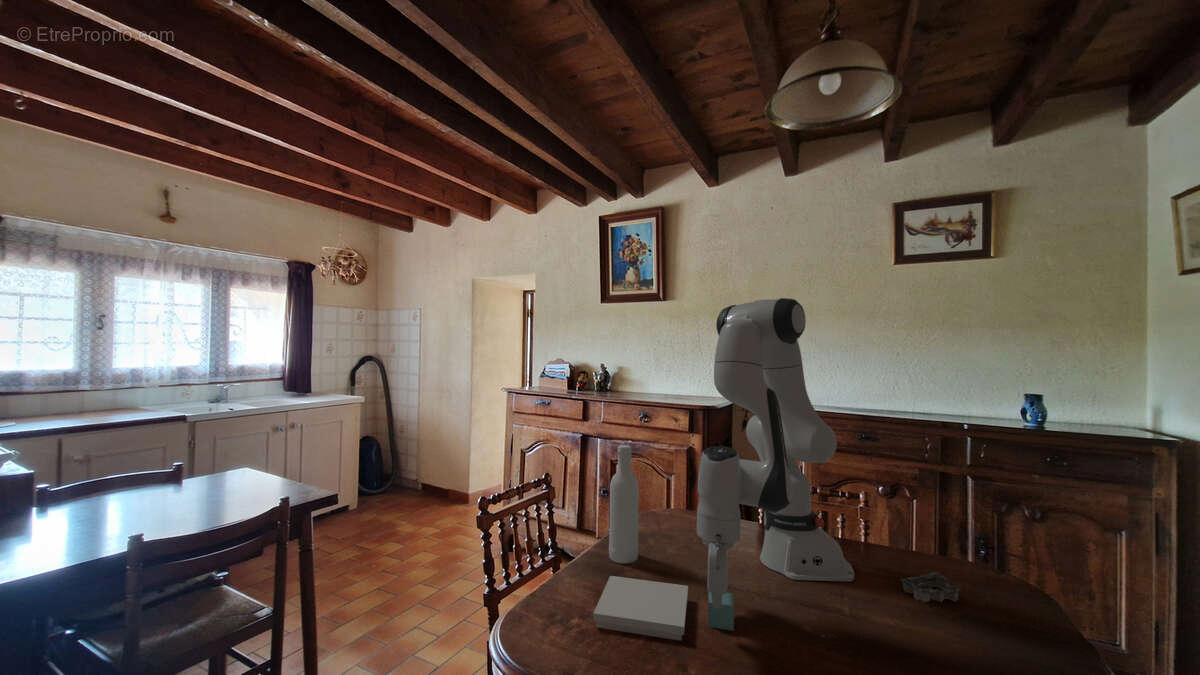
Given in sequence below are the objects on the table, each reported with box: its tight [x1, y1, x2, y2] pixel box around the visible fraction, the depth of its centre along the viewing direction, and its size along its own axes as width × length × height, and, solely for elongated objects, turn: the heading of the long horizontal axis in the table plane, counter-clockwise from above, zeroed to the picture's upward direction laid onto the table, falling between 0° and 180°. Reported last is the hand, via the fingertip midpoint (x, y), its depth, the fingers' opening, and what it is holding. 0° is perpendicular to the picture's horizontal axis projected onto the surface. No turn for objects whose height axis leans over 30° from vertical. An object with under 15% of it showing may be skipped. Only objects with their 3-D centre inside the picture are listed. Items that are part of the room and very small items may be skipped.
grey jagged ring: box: [899, 571, 962, 601], centre depth 107 cm, size 11×8×4 cm
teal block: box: [707, 590, 735, 631], centre depth 96 cm, size 5×5×5 cm
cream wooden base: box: [592, 575, 689, 641], centre depth 98 cm, size 18×16×3 cm
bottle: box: [608, 444, 640, 565], centre depth 125 cm, size 8×8×30 cm
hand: (716, 594), depth 96 cm, fingers open, 8 cm apart
